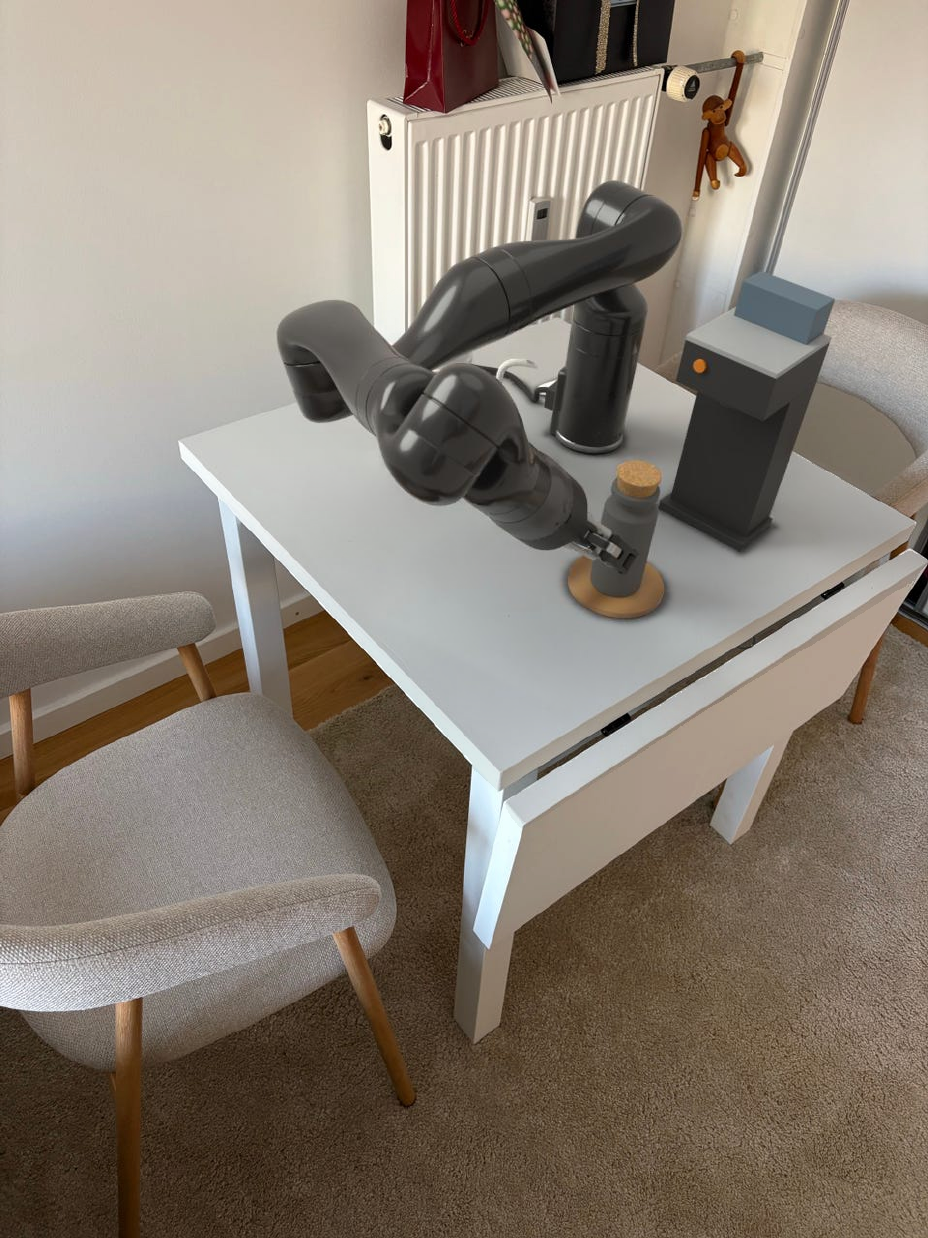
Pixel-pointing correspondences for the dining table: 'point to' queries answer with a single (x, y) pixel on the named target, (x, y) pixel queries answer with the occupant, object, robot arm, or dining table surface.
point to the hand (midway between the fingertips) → (590, 542)
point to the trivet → (615, 606)
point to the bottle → (629, 524)
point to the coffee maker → (747, 406)
